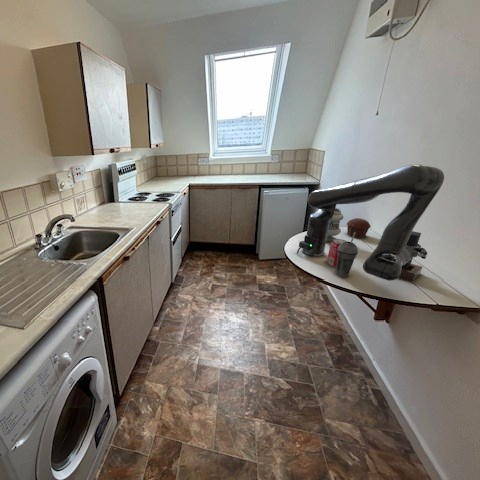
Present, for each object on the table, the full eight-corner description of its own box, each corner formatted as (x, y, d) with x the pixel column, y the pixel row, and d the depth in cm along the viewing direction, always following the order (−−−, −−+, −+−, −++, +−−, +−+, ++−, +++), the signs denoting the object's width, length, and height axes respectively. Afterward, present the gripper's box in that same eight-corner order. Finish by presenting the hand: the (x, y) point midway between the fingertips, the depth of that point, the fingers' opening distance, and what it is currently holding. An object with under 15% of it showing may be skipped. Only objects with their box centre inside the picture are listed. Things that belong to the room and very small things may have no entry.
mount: (412, 281, 110) (415, 274, 108) (382, 272, 118) (384, 265, 116) (420, 273, 115) (422, 266, 114) (390, 265, 123) (393, 258, 122)
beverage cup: (328, 270, 121) (337, 229, 113) (345, 270, 120) (356, 229, 113) (337, 278, 114) (347, 235, 107) (355, 279, 113) (366, 235, 106)
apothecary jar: (310, 236, 160) (315, 207, 154) (329, 234, 161) (335, 205, 154) (323, 243, 149) (329, 212, 142) (343, 242, 150) (350, 211, 143)
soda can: (345, 264, 126) (351, 240, 121) (341, 269, 121) (347, 245, 117) (328, 260, 131) (333, 237, 126) (324, 265, 126) (329, 241, 122)
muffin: (339, 233, 162) (343, 217, 158) (353, 230, 165) (357, 215, 161) (358, 240, 152) (362, 223, 148) (372, 237, 155) (377, 220, 151)
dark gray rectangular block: (397, 266, 115) (407, 233, 109) (401, 262, 117) (411, 231, 112) (406, 268, 112) (417, 235, 107) (410, 265, 115) (421, 232, 109)
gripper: (425, 252, 97) (438, 241, 106) (378, 241, 108) (394, 232, 117) (418, 270, 100) (431, 258, 109) (374, 258, 111) (389, 248, 120)
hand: (412, 245), depth 113 cm, fingers closed on dark gray rectangular block, 3 cm apart
